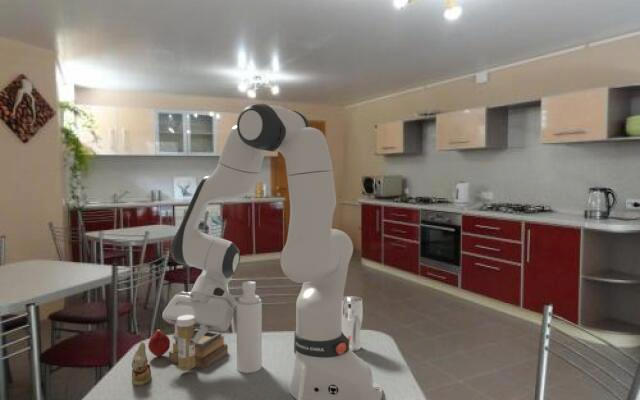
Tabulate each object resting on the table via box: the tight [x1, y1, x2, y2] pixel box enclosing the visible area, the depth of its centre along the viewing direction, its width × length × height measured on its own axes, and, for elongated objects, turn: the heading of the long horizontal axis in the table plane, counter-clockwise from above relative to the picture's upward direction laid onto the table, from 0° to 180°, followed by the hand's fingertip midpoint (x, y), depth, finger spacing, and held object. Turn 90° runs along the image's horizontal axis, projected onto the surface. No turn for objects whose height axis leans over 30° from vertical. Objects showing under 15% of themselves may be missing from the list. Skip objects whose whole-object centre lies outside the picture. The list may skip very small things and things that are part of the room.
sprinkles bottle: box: [177, 315, 196, 371], centre depth 117 cm, size 5×5×13 cm
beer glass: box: [342, 295, 364, 352], centre depth 135 cm, size 7×7×15 cm
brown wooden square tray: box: [168, 328, 229, 369], centre depth 128 cm, size 12×11×6 cm
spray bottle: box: [236, 280, 263, 374], centre depth 120 cm, size 7×7×25 cm
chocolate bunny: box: [131, 341, 152, 387], centre depth 113 cm, size 6×8×10 cm
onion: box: [147, 329, 171, 358], centre depth 127 cm, size 6×6×8 cm
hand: (184, 340), depth 117 cm, fingers closed on sprinkles bottle, 4 cm apart
